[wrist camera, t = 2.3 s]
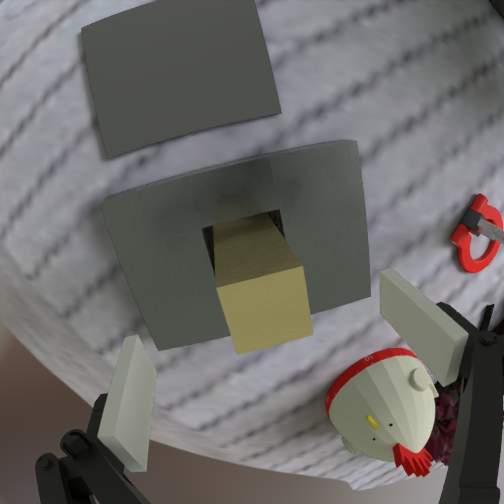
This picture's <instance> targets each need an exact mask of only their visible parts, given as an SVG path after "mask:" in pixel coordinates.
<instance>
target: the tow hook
mask: <svg viewBox="0 0 504 504" xmlns="http://www.w3.org/2000/svg"><path fill="white" fill-rule="evenodd" d="M487 202H488V200H487V198H486V197H485V196H484V195H482V194H478V196H477V198H476V199H475V201H474V203H473V204H472V206H471V208H470V209H468V211H467V212H466V214H465V215H464V217H463V218H462V220H461V222H460V225H459V226H458V228H457V229H456V231H455V232H454V234H453V235H452V237H451V238H450V241H451V242H452V243H453V244H454V245H456V246H457V247H458V257H459V261H460V264H461V266H462V267H463V268H464V269H465V270H466V271H468V272H471V273H477V272H479V271H481V270H483V269H484V268H485V267H487V266H488V265H489V263H490V262H491V261H492V260H493V258H494V257H495V255H496V253H497V251H498V249H499V246H500V243H502V244H504V231H503V221H502V217H501V214H500V213H499V211H498V210H497V209H496V208H494V207H492V206H488V205H487ZM486 219H490V220H491V222H492V223H490V222H488V221H487V220H486ZM468 232H470V233H472V234H474V235H476V236H479V235H480V234H482V235H484V236H486V237H488V238H489V239H491V240H492V241H491V244H490V246H489V248H488V250H487V251H486V253H485V254H484V255H483V256H482V257H481V258H479V259H477V260H473V259H472V258H471V255H470V243H471V236H470V234H469V233H468Z"/></svg>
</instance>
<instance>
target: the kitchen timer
mask: <svg viewBox="0 0 504 504" xmlns="http://www.w3.org/2000/svg"><path fill="white" fill-rule="evenodd" d="M438 396H439V394H438V392H437V390H436V388H435V386H434V384H433V382H432V380H431V378H430V376H429V375H428V373H427V372H426V370H425V368H424V366H423V364H422V363H421V362H420V361H419V359H418V358H417V357H416V356H415V355H414V354H413V353H412V352H411V351H410V350H407V349H404V348H388V349H385V350H381V351H378V352H375V353H373V354H371V355H369V356H367V357H365V358H363V359H361V360H359V361H358V362H356V363H355V364H354V365H352V366H351V367H349V368H348V369H347V370H346V371H345V372H344V373H343V374H342V375H341V376H340V377H339V378H338V379H337V380H336V381H335V382H334V384H333V385H332V387H331V388H330V390H329V392H328V395H327V398H326V401H325V404H326V411H327V413H328V416H329V418H330V420H331V422H332V424H333V425H334V427H335V428H336V429H337V430H338V432H339V433H340V434H341V435H342V436H343V437H342V442H343V444H344V445H345V447H346V448H347V449H348V450H349V451H350V452H351V453H355V452H356V451H357V450H358V451H359V452H361V453H363V454H365V455H367V456H369V457H371V458H374V459H378V460H381V461H387V462H395V464H396V467H399V466H400V465H401V464H402V466H403V468H404V470H405V471H406V473H407V475H408V476H410V475H411V474H413V473H415V475H416V476H417V477H419V476H420V475H422V476H423V477H425V476H426V475H427V474H428V473H430V471H429V467H431V466H432V464H431V463H430V461H431V460H432V459H433V458H432V456H431V455H430V454H429V453H428V452H427V450H426V449H425V448H424V446H425V444H426V443H427V441H428V439H429V437H430V434H431V431H432V428H433V424H434V419H435V402H434V398H435V397H438Z"/></svg>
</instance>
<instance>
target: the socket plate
mask: <svg viewBox="0 0 504 504" xmlns="http://www.w3.org/2000/svg"><path fill="white" fill-rule="evenodd" d="M99 204H100V207H101V210H102V213H103V216H104V219H105V222H106V225H107V228H108V231H109V233H110V236H111V239H112V242H113V245H114V247H115V250H116V253H117V256H118V258H119V261H120V263H121V266H122V269H123V271H124V274H125V276H126V279H127V281H128V284H129V286H130V289H131V291H132V293H133V296H134V298H135V301H136V303H137V305H138V308H139V310H140V312H141V314H142V317H143V319H144V321H145V323H146V325H147V328H148V330H149V332H150V334H151V336H152V338H153V341H154V343H155V345H156V347H157V349H158V351H161V350H166V349H171V348H176V347H181V346H186V345H191V344H195V343H200V342H205V341H209V340H214V339H218V338H222V337H227V336H231V334H230V331H229V328H228V324H227V321H226V318H225V315H224V312H223V308H222V305H221V302H220V299H219V296H218V292H217V289H216V276H215V264H214V261H213V258H212V254H211V250H210V247H209V243H208V240H207V236H206V233H205V229H204V227H208V226H212V225H216V224H220V223H224V222H228V221H232V220H236V219H240V218H244V217H248V216H252V215H256V214H260V213H264V212H268V211H273V210H275V213H276V218H277V223H278V228H279V231H280V233H281V234H282V236H283V237H284V239H285V240H286V242H287V243H288V245H289V246H290V247H291V249H292V250H293V252H294V253H295V255H296V256H297V258H298V259H299V261H300V262H301V264H302V265H303V269H304V275H305V282H306V288H307V295H308V302H309V308H310V315H311V314H315V313H318V312H322V311H325V310H329V309H332V308H335V307H339V306H342V305H345V304H348V303H352V302H355V301H358V300H361V299H364V298H367V297H371V288H370V264H369V247H368V233H367V221H366V210H365V200H364V191H363V183H362V175H361V167H360V160H359V153H358V146H357V141H354V140H337V141H331V142H325V143H319V144H314V145H308V146H303V147H297V148H292V149H287V150H282V151H277V152H272V153H267V154H263V155H258V156H253V157H249V158H244V159H240V160H236V161H231V162H227V163H223V164H219V165H215V166H211V167H207V168H203V169H199V170H195V171H192V172H188V173H184V174H181V175H177V176H173V177H170V178H166V179H163V180H159V181H156V182H153V183H149V184H146V185H143V186H139V187H136V188H133V189H130V190H127V191H123V192H120V193H117V194H114V195H111V196H109V197H107V198H106V199H104V200H103V201H101V202H100V203H99Z"/></svg>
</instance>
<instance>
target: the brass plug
mask: <svg viewBox="0 0 504 504" xmlns="http://www.w3.org/2000/svg"><path fill="white" fill-rule="evenodd" d="M213 238H214V258H215V276H216V289H217V292H218V296H219V299H220V302H221V305H222V308H223V312H224V315H225V318H226V321H227V324H228V328H229V331H230V334H231V337H232V340H233V343H234V346H235V349H236V352H237V354H241V353H245V352H250V351H254V350H258V349H262V348H266V347H269V346H273V345H277V344H281V343H285V342H288V341H292V340H296V339H299V338H303V337H306V336H310V335H313V330H312V323H311V316H310V308H309V302H308V295H307V288H306V282H305V275H304V269H303V265H302V264H301V262H300V261H299V259H298V258H297V256H296V255H295V253H294V252H293V250H292V249H291V247H290V246H289V245H288V243H287V242H286V240H285V239H284V237H283V236H282V234H281V233H280V231H279V230H278V229H277V227H276V226H275V224H274V223H273V221H272V220H271V219H270V217H269V216H268V214H267V213H266V212H265V213H261V214H257V215H253V216H249V217H245V218H241V219H236V220H232V221H228V222H224V223H220V224H217V225H213Z"/></svg>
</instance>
